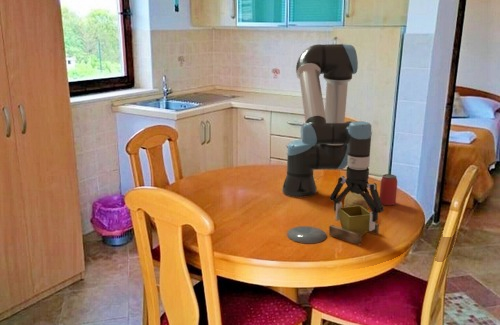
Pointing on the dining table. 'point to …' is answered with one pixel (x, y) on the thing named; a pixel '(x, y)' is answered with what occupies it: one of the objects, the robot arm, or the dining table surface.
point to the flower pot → (354, 219)
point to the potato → (355, 200)
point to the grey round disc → (306, 235)
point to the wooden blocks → (349, 234)
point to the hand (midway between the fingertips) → (354, 224)
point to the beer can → (388, 189)
